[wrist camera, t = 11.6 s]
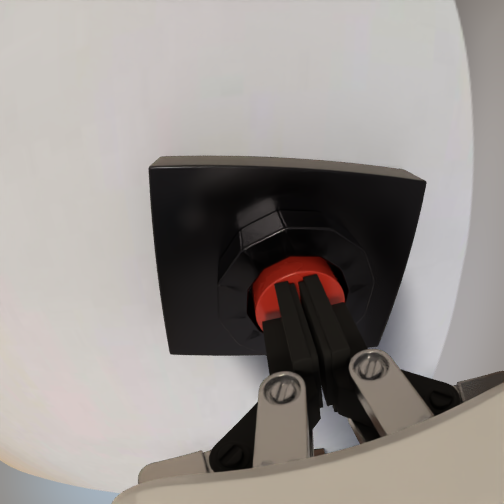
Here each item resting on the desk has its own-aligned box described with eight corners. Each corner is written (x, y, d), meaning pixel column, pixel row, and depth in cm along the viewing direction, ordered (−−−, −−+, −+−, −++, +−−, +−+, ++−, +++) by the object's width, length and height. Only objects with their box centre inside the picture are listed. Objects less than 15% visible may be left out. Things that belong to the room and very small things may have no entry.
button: (339, 249, 13) (353, 270, 11) (325, 316, 14) (335, 341, 13) (254, 248, 12) (258, 271, 11) (250, 318, 14) (253, 345, 13)
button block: (404, 169, 14) (450, 193, 11) (366, 323, 19) (389, 368, 15) (159, 156, 13) (135, 177, 10) (174, 328, 18) (165, 380, 14)
